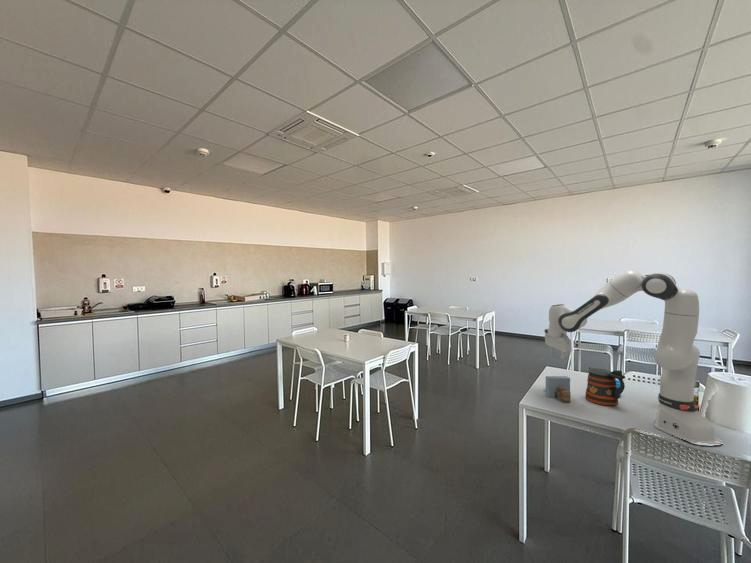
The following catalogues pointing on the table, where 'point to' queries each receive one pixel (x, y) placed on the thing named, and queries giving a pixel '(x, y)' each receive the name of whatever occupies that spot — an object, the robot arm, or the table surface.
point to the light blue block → (556, 384)
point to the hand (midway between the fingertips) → (557, 356)
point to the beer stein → (604, 386)
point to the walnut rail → (563, 394)
